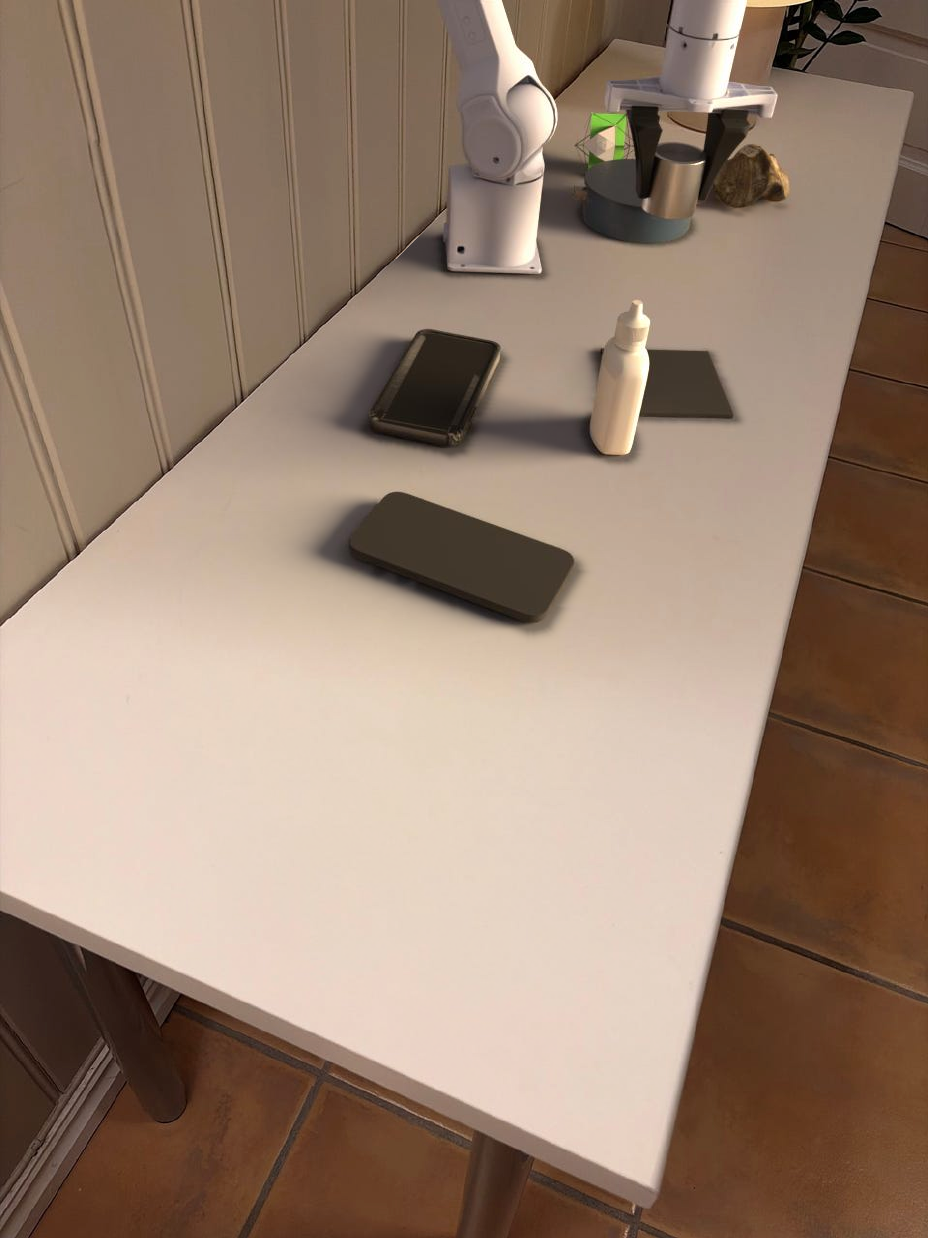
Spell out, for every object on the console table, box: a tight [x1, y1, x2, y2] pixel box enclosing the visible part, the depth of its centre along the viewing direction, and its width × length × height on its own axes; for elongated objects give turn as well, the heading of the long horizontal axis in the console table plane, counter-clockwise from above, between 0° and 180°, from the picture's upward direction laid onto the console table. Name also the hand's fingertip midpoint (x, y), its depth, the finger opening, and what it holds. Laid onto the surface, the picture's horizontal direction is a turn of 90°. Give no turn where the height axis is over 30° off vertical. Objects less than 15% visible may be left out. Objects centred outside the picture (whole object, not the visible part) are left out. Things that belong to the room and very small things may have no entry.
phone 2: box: [347, 491, 575, 624], centre depth 69 cm, size 7×1×15 cm
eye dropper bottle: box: [589, 299, 651, 456], centre depth 76 cm, size 4×6×12 cm
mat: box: [600, 347, 734, 419], centre depth 86 cm, size 10×10×1 cm
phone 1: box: [369, 328, 502, 448], centre depth 83 cm, size 8×1×15 cm
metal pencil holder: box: [641, 141, 707, 220], centre depth 89 cm, size 5×5×5 cm
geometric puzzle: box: [574, 112, 635, 172], centre depth 115 cm, size 7×7×8 cm
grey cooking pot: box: [572, 158, 706, 244], centre depth 108 cm, size 15×13×4 cm
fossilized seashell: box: [712, 143, 790, 209], centre depth 113 cm, size 8×7×10 cm
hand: (670, 194), depth 90 cm, fingers closed on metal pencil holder, 5 cm apart
